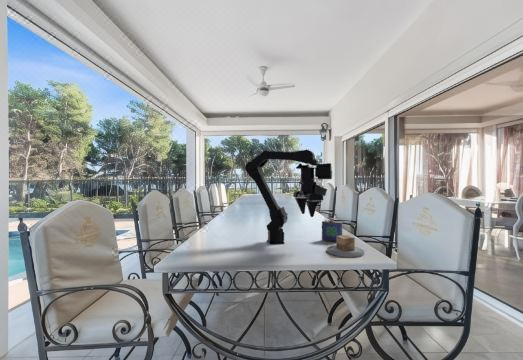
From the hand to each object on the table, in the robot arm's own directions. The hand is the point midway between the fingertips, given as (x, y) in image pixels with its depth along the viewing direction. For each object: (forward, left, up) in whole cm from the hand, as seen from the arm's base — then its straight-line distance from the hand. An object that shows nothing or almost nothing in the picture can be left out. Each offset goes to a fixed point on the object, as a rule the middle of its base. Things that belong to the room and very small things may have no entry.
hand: (307, 215), depth 123 cm
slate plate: (+10, -14, -13) cm, 22 cm away
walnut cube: (+10, -14, -12) cm, 21 cm away
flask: (+14, +4, -13) cm, 20 cm away
